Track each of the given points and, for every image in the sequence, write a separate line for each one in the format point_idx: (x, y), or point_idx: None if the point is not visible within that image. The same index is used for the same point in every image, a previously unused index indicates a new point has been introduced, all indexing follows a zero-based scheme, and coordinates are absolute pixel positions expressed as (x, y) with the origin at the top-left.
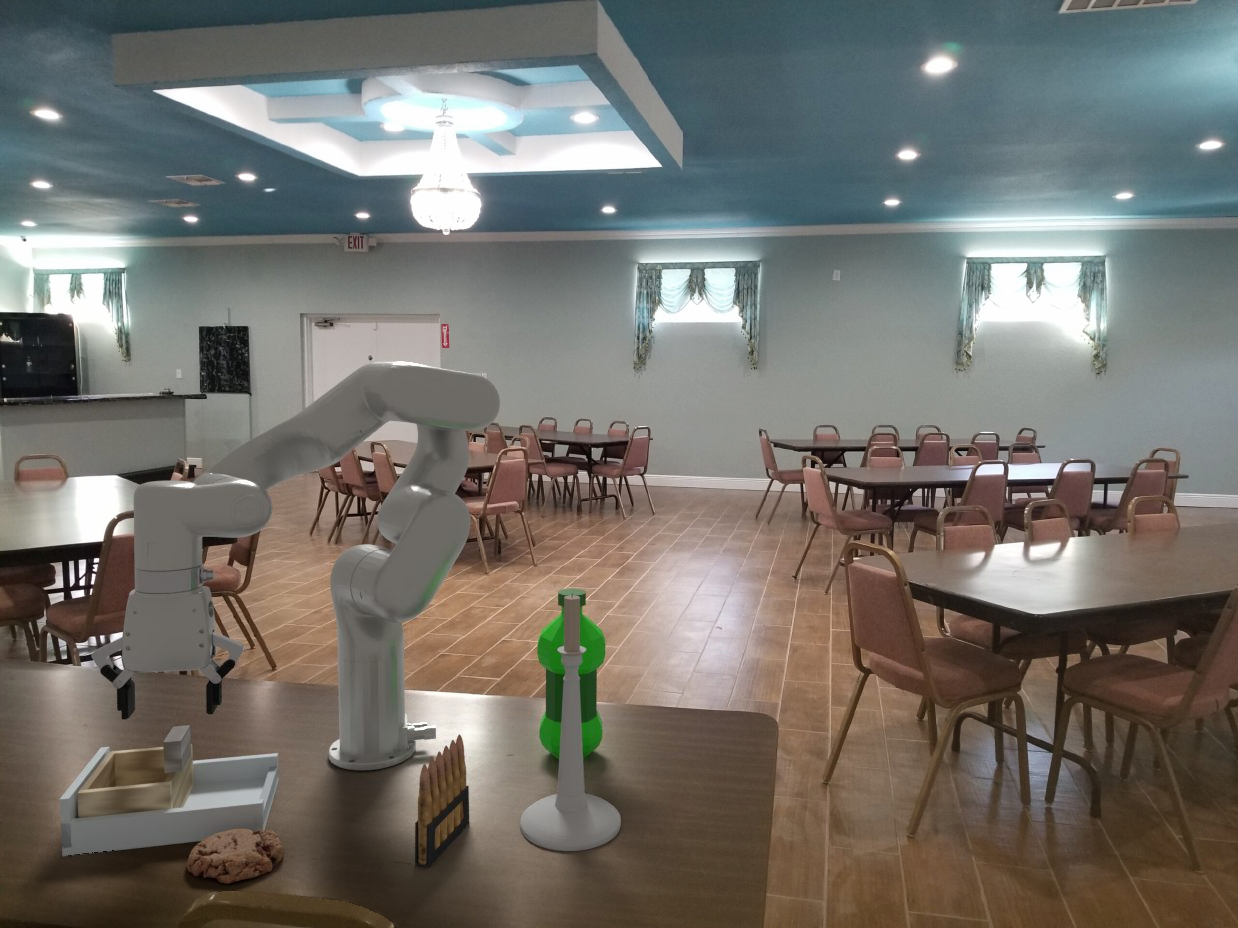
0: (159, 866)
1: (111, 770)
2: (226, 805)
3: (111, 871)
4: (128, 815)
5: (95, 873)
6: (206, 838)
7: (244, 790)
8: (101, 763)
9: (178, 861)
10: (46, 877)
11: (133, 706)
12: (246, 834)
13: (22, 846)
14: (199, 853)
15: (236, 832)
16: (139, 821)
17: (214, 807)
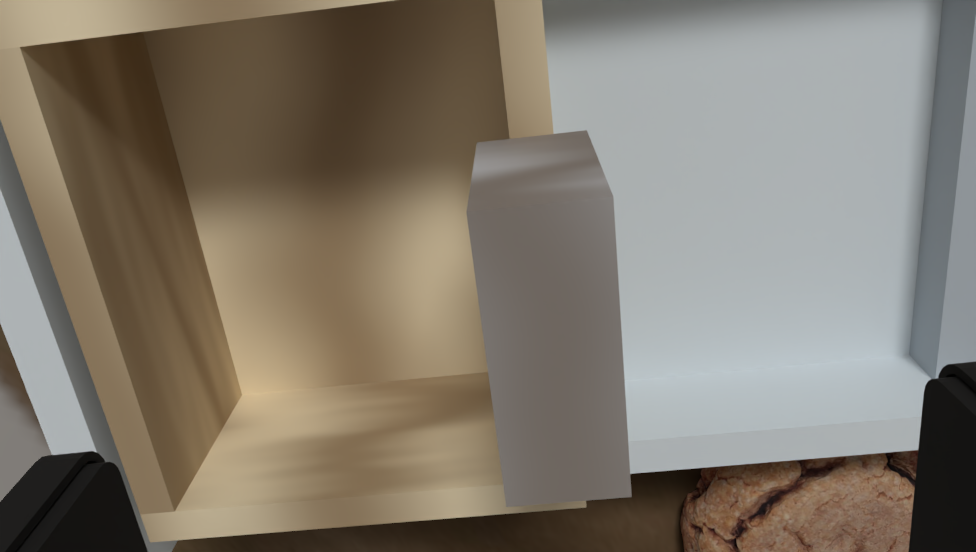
0: (583, 521)
1: (90, 105)
2: (833, 445)
3: (433, 529)
4: None
5: (385, 534)
6: (745, 508)
7: (821, 21)
8: (40, 206)
9: (639, 501)
10: (236, 536)
11: (101, 542)
12: None
13: (7, 345)
14: None
15: (867, 522)
16: None
17: (780, 455)
